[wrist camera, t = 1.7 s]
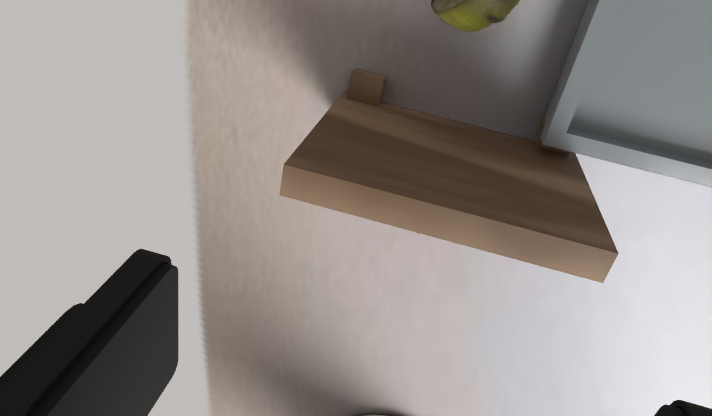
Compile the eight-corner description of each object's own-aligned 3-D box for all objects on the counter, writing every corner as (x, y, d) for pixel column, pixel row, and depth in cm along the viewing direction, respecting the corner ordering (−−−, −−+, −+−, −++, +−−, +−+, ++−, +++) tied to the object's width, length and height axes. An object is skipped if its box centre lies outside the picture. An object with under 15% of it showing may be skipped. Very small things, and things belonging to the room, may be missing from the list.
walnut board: (554, 196, 35) (587, 312, 24) (333, 139, 36) (275, 225, 26) (585, 126, 32) (636, 219, 22) (347, 67, 34) (288, 129, 23)
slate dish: (736, 180, 32) (754, 198, 30) (538, 130, 33) (542, 144, 31) (868, -35, 26) (901, -31, 24) (622, -87, 27) (634, -88, 25)
